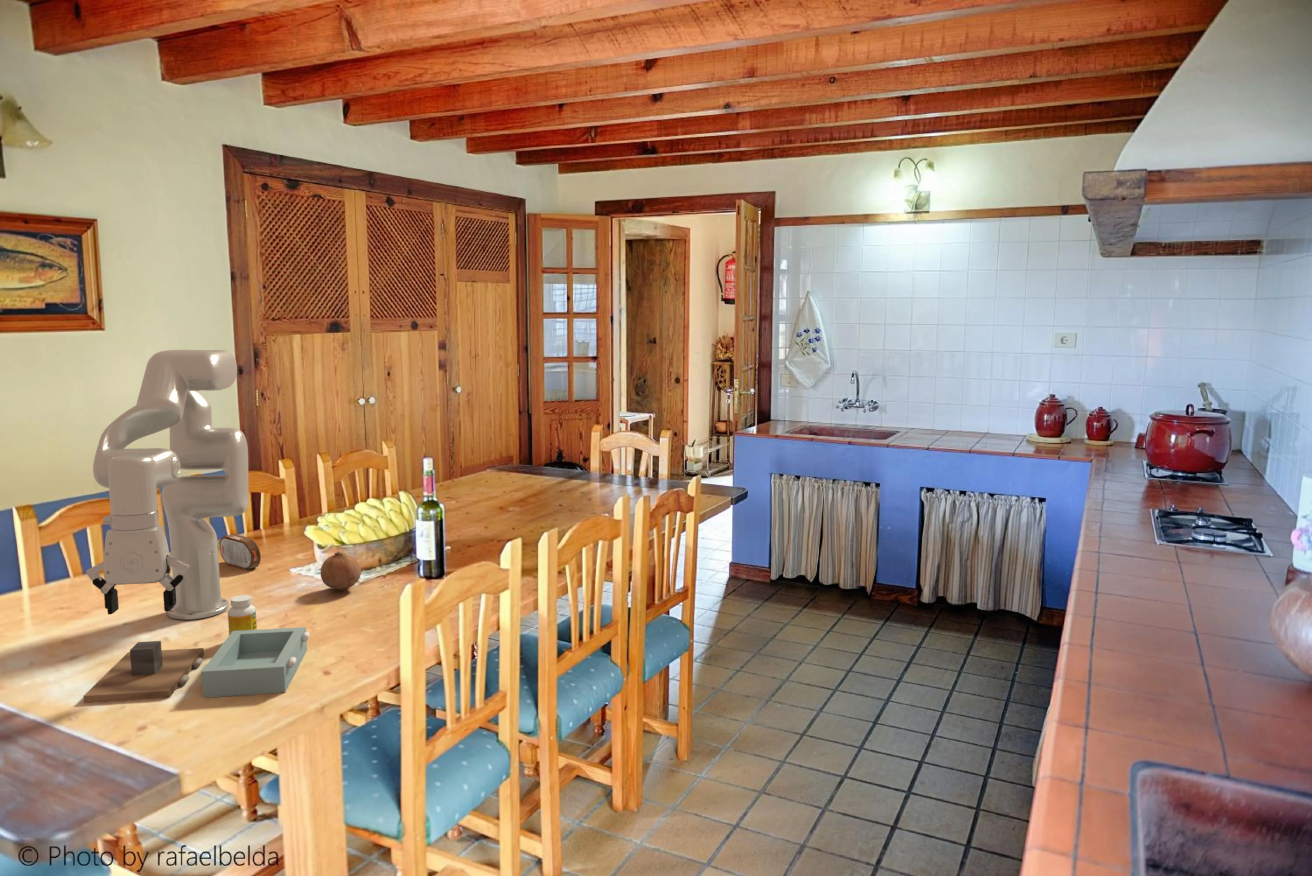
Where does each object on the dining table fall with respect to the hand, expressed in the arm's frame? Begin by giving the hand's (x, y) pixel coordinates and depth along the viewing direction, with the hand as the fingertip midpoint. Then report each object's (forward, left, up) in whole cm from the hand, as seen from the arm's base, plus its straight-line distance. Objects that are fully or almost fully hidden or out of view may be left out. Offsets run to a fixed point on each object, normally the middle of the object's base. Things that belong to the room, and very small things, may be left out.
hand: (141, 610), depth 164 cm
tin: (-73, -2, -14) cm, 74 cm away
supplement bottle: (-17, +13, -14) cm, 25 cm away
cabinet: (0, +20, -13) cm, 24 cm away
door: (-1, 0, -14) cm, 14 cm away
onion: (-48, +28, -14) cm, 57 cm away
